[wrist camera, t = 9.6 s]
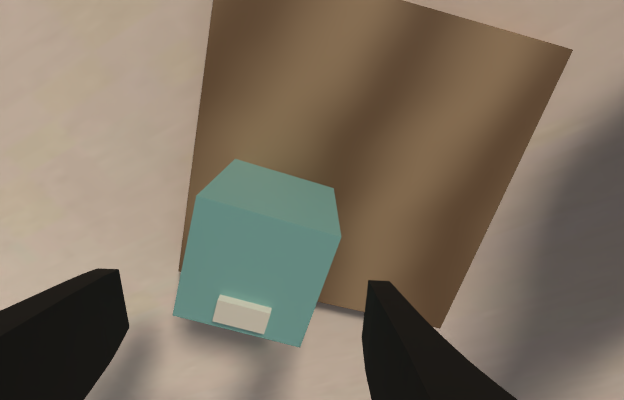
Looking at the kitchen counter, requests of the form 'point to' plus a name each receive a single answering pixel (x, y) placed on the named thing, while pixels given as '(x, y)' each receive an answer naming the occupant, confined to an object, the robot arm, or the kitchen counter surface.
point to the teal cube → (258, 252)
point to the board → (376, 128)
